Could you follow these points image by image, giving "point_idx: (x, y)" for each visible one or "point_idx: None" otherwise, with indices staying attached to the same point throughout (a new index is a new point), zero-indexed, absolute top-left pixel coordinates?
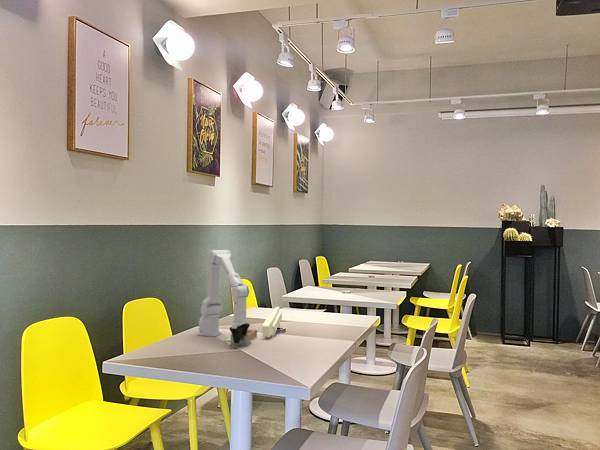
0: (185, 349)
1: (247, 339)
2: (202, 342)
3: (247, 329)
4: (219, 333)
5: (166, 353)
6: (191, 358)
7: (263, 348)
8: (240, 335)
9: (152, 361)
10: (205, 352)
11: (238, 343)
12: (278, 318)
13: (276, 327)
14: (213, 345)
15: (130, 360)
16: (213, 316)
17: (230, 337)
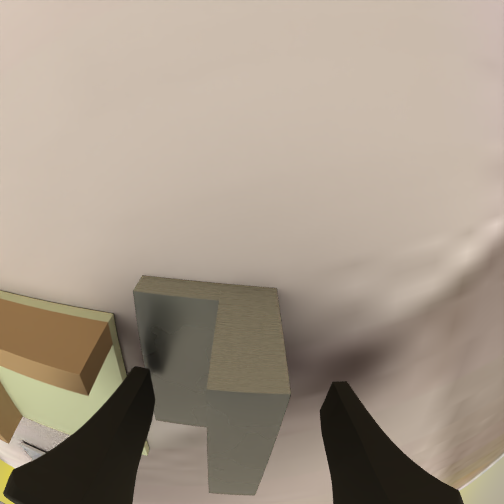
0: None
1: (276, 346)
2: (217, 494)
3: (71, 450)
4: (40, 454)
5: None
6: (501, 420)
7: (345, 60)
8: (270, 451)
9: (483, 461)
10: (433, 437)
11: (346, 382)
12: None
13: None
14: (275, 468)
15: (454, 486)
16: None
17: (67, 430)
